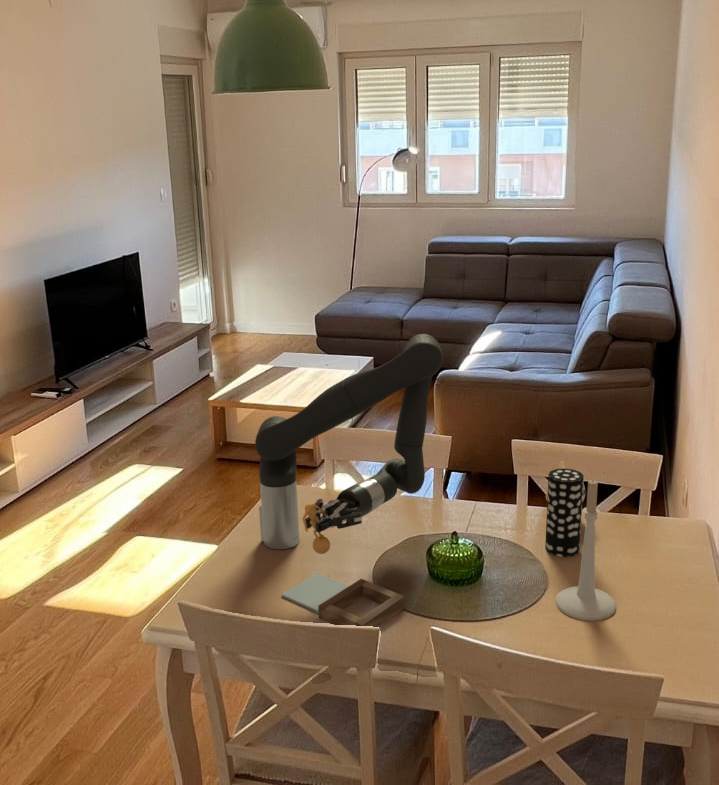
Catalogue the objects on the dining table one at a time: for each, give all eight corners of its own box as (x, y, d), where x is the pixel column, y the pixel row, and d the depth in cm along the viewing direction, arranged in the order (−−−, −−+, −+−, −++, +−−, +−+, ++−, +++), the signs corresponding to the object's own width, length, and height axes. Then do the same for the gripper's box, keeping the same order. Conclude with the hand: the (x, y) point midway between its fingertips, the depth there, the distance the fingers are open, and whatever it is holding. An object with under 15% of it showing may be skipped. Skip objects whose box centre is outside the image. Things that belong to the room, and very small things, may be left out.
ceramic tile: (281, 596, 197) (281, 594, 197) (317, 575, 206) (317, 572, 205) (320, 613, 189) (320, 611, 189) (355, 591, 198) (355, 588, 198)
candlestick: (622, 598, 192) (631, 474, 183) (606, 626, 182) (615, 497, 173) (566, 584, 199) (572, 464, 190) (547, 610, 188) (553, 485, 179)
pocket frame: (318, 617, 188) (318, 605, 187) (361, 590, 199) (361, 578, 198) (362, 637, 180) (362, 625, 179) (404, 608, 191) (404, 596, 190)
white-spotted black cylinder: (542, 553, 213) (545, 479, 206) (548, 539, 220) (551, 466, 214) (576, 559, 210) (581, 484, 203) (581, 544, 217) (586, 470, 211)
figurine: (319, 563, 190) (319, 516, 185) (296, 556, 192) (295, 509, 188) (338, 546, 196) (338, 499, 192) (315, 539, 199) (314, 493, 195)
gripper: (338, 477, 207) (287, 503, 194) (383, 491, 198) (334, 519, 185) (339, 505, 209) (290, 532, 196) (384, 521, 200) (335, 550, 188)
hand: (311, 526), depth 191 cm, fingers closed on figurine, 2 cm apart
